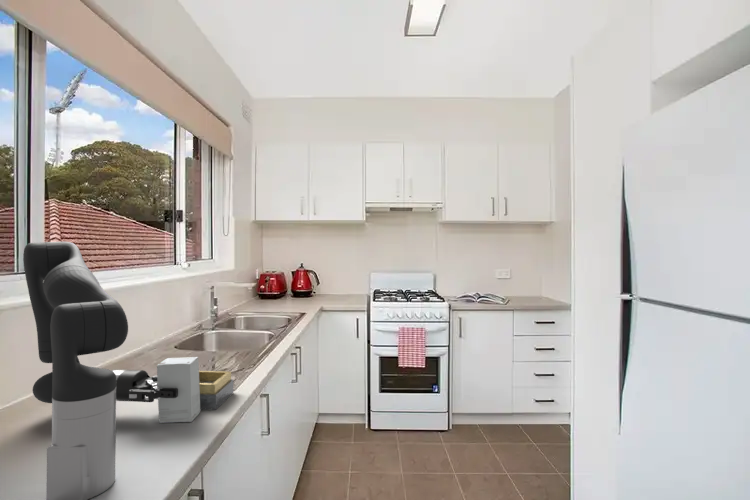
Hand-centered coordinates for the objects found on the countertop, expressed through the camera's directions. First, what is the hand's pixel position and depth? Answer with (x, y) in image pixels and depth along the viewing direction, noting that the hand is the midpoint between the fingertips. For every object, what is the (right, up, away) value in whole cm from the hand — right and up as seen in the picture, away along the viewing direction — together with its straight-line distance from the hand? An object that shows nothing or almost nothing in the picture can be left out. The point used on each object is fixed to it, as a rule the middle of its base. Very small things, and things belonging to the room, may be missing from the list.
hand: (186, 386), depth 98 cm
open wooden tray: (-2, -8, +13) cm, 15 cm away
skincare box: (-2, -8, 0) cm, 8 cm away
